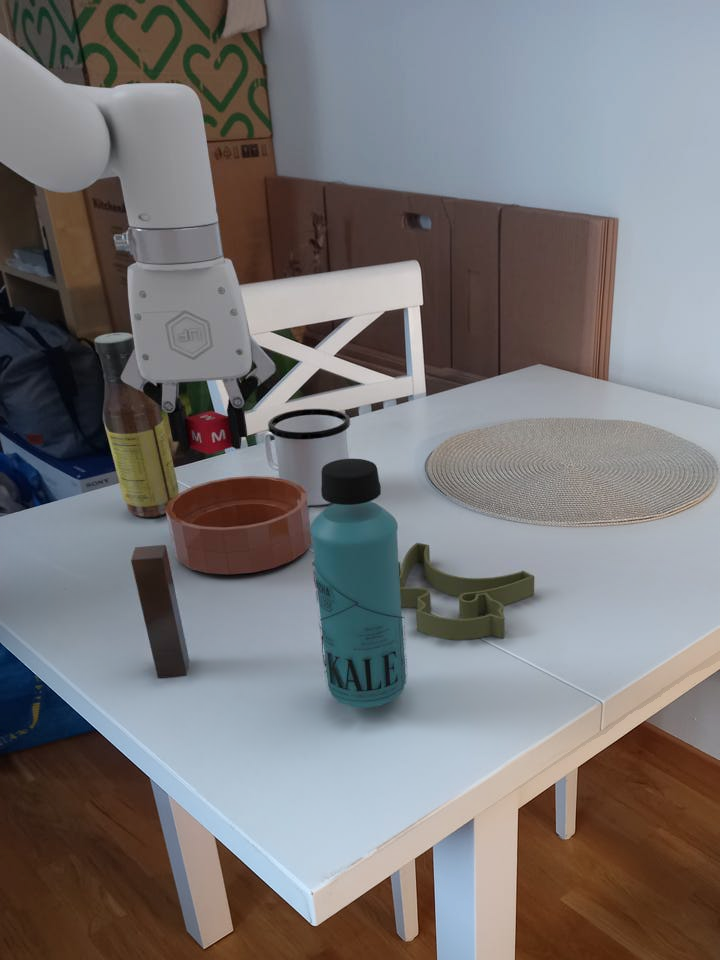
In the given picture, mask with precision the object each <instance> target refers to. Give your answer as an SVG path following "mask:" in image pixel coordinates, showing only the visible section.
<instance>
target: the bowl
mask: <svg viewBox="0 0 720 960" xmlns="http://www.w3.org/2000/svg"><path fill="white" fill-rule="evenodd" d="M309 510H310V509H309V506H308V500H307V492H306V491H305V490H304V489H303V488H302V487H301V486H300V485H298V484H295V483H293V482H291V481H288V480H284V479H280V478H279V477H273V476H259V475H258V476H257V475H247V476H246V475H244V476H233V477H232V476H231V477H225V478H219V479H214V480H209V481H206V482H203V483H199V484H197V485H193V486H191V487H189V488H188V487H187V489H185V490H182V491H181V492H179V494H177V495H176V496H175V497H174V498H172V499H171V500H170V501H169V502H168V505H167V508H166V514H165V515H166V519H167V526H168V530H169V536H170V539H171V544H172V549H173V555H174V556H175V558H176V559H177V561H178V563H179V564H181V565H183V566H185V567H187V568H189V569H190V570H193V571H198V572H201V573H206V574H211V575H212V574H215V575H239V574H252V573H258V572H263V571H266V570H270V569H275V568H277V567H281V566H282V565H285V564H287V563H291V562H292V561H294V560H295V559H297V558H298V557H300V556H301V555H302V554H304V553H306V551H307V550H308V549H309V547H310V546H311V544H312V543H313V540H312V536H311V532H310V528H311V519H310V511H309Z"/></svg>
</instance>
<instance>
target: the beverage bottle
mask: <svg viewBox="0 0 720 960" xmlns="http://www.w3.org/2000/svg"><path fill="white" fill-rule="evenodd" d="M321 478H322V486H321V493H322V498H323V499H324V500H326V501H328V502H330V503H332V504H329V505H328V506H327V507H325V508H324V509H322V511H320V513H319V514H317V515H316V517H315V518H314V519H313V521H312V522H311V523H310V527H311V528H310V532H311V538H312V550H313V558H314V559H313V562H312V563H311V565H312V566H314V570H313V576H314V577H313V582H314V587H315V588H316V593H315V596H316V598H315V599H316V602H317V603H318V608H319V621H320V622H319V623H318V627H319V635H320V639H321V644H320V645H321V654H322V663H323V668H325V670H324V671H323V672H324V675H325V678H326V679H325V683H326V685H327V686H326V688H327V690H328V691H329V692H330V694H331V696H332V698H333V699H334V700H336V701H337V702H338V703H340V704H342V705H344V706H348V707H353V708H374V707H379V706H383V705H385V704H388V703H390V702H393V701H394V700H396V699H397V698H398V697H399V696H400V695H402V693H403V692H404V689H405V686H406V684H407V681H408V677H407V676H408V669H406V667H408V657H407V654H405V651H406V647H405V644H406V636H404V635H406V632H405V630H406V627H405V626H404V625H403V619H405V616H403V613H402V607H401V598H400V580H399V562H400V561H399V546H398V543H399V542H398V527H399V526H398V521H397V519H396V518H395V517H394V515H392V514H391V512H389V511H388V510H387V509H385V508H384V507H382V506H381V505H379V504H377V503H376V502H373V501H374V500H376V499H378V498H379V497H380V495H381V494H382V488H381V486H382V485H381V482H380V477H379V472H378V467H377V465H376V464H375V462H372V461H370V460H367V459H364V458H363V459H362V458H349V459H341V460H336V461H333V462H330V463H328V464H326V465H325V466H324V467H323V468H322V472H321ZM404 624H406V622H405V620H404Z"/></svg>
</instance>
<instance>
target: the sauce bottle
mask: <svg viewBox="0 0 720 960" xmlns="http://www.w3.org/2000/svg"><path fill="white" fill-rule="evenodd" d="M93 341H94V348H95V353H97V355H98V356H99V361H100V364H101V367H102V372H103V379H104V399H103V407H102V422H103V424H104V429H105V433H106V436H107V440H108V443H109V448H110V451H111V452H110V453H111V455H112V460H113V463H114V467H115V471H116V475H117V479H118V482H119V487H120V491H121V495H122V499H123V501H124V503H125V504H126V507H127V509H128V511H129V512H130V514H132V515H134V516H136V517H141V518H156V517H160V516H163V515H166V508H167V505H168V502H169V501H170V500H171V499H172V498H174V497H175V496H176V495H177V494H179V493H180V488H179V484H178V479H177V475H176V474H177V473H176V470H175V466H174V460H173V457H172V452H171V448H170V443H169V440H168V435H167V430H166V426H165V421H164V418H163V416H162V412H161V409H160V408H161V406H160V405H159V404H157V403H156V402H155V401H153V400H152V399H151V398H149V397H148V396H147V395H146V394H145V393H144V392H142V391H140V390H137V389H135V388H134V387H132V386H130V385H128V384H126V383H124V382H123V381H122V380H121V374H122V372H123V370H124V368H125V366H126V364H127V362H128V360H129V358H130V356H131V354H132V352H133V350H134V348H135V345H134V338H133V333H129V332H112V333H105V334H102V335H101V334H100V335H99V336H96V338H94V340H93Z"/></svg>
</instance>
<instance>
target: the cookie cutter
mask: <svg viewBox="0 0 720 960" xmlns="http://www.w3.org/2000/svg"><path fill="white" fill-rule="evenodd" d="M430 554H431V553H430V544H428V543H422V542H421V543H420V542H416V543H414V544H413V545H412V546H411V547H410V548H409V549H408V550H407V552H406V553H405V555H404V558H403V560H402V564H401V562H400V561H399V580H400V598H401V608H417V609H416V610H415V617H416V620H415V621H416V630H417V631H418V632H422V633H424V634H426V635H429V636H433V637H437V638H441V639H446V640H454V641H468V640H469V641H470V640H477V639H481V638H485V637H489V636H493V637H495V638H499V639H504V638H505V622H506V621H505V620H506V619H505V617H506V616H505V614H504V606H508V605H510V604H514V603H516V602H520V601H522V600H524V599H527V598H529V597H533V596H535V575H533V574H531V573H529V572H527V571H525V570H521V571H518V572H515V573H510V574H506V575H505V574H504V575H499V576H492V577H463V576H456V575H452V574H449V573H446V572H443V571H442V570H439V569H437V568H436V567H435V566H433V565H432V564H431V560H430V559H431V557H430ZM418 563H424V576H425V579H426V580H427V582H428V583H429V584H430V585H431V586H432V587H433V588H434V589H436V590H437V591H439V592H441V593H444V594H447V595H450V596H455V597H458V609H459V610H458V612H459V615H458V617H459V618H450V617H444V616H440V615H439V616H438V615H435V614H431V611H432V600H431V599H432V598H431V589H429V588H426V587H414V586H413V587H406V583H407V579H408V577H409V574H410V573H411V571H412V569H413V568H414V567H415V565H416V564H418ZM482 614H485V615H483V616H480V615H482Z"/></svg>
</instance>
